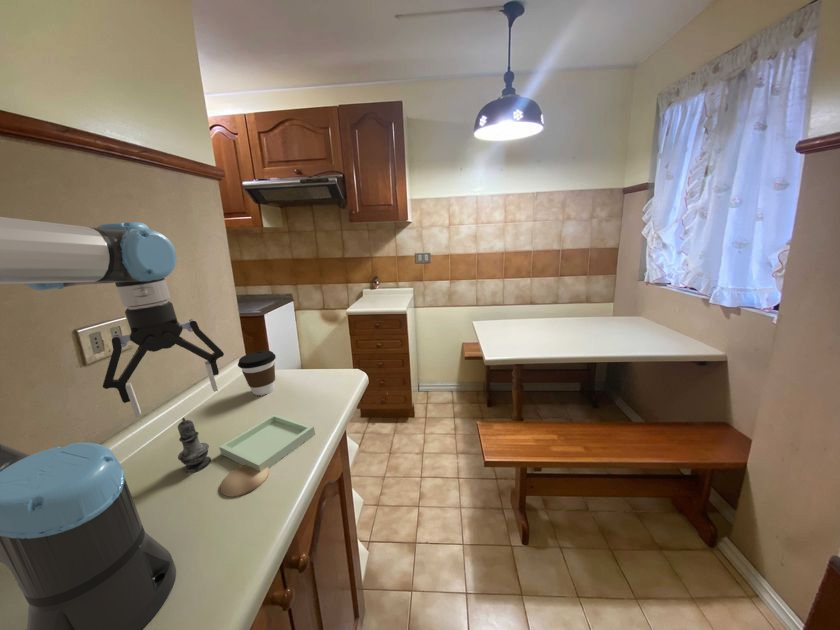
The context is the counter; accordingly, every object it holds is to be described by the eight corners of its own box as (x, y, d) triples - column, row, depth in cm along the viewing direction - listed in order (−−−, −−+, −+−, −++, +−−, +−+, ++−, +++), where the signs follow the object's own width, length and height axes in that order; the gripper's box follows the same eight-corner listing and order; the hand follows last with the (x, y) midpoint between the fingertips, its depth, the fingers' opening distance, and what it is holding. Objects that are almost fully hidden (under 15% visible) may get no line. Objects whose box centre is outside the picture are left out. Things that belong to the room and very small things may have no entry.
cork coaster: (237, 502, 64) (237, 500, 64) (211, 487, 69) (211, 485, 69) (278, 471, 72) (277, 469, 71) (252, 459, 76) (251, 458, 76)
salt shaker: (198, 475, 73) (182, 426, 70) (175, 473, 74) (159, 425, 71) (218, 456, 78) (205, 410, 75) (197, 455, 80) (183, 410, 77)
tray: (260, 473, 72) (258, 465, 71) (221, 454, 79) (219, 446, 79) (315, 434, 84) (313, 426, 83) (276, 420, 91) (274, 413, 91)
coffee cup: (251, 386, 114) (243, 352, 111) (285, 380, 116) (278, 347, 113) (240, 402, 104) (231, 365, 100) (278, 396, 105) (270, 360, 102)
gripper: (55, 323, 56) (99, 434, 62) (222, 293, 71) (246, 385, 77) (62, 316, 62) (102, 418, 68) (216, 290, 77) (238, 375, 82)
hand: (178, 401), depth 72 cm, fingers open, 13 cm apart
